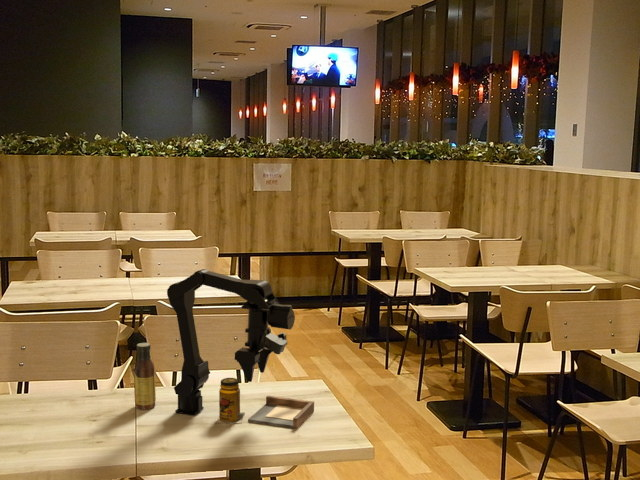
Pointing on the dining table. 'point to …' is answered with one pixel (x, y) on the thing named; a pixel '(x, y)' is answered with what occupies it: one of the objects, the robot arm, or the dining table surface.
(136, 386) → the sauce bottle
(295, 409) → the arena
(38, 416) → the dining table surface
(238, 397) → the condiment
